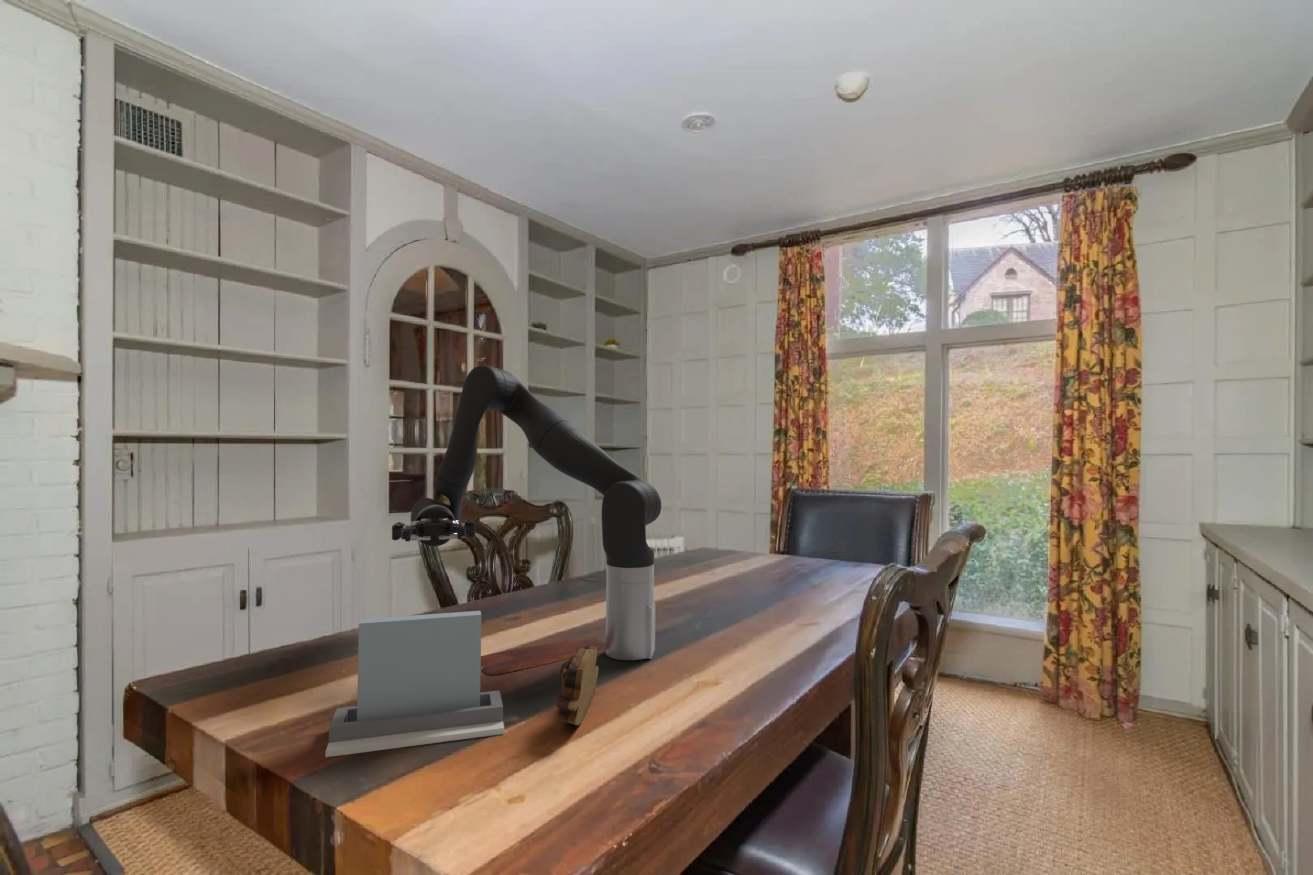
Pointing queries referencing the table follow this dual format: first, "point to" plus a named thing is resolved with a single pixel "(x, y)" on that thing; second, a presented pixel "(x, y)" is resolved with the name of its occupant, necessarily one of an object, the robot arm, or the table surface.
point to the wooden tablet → (534, 655)
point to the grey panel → (418, 664)
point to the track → (414, 727)
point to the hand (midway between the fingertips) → (434, 534)
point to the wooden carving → (577, 685)
